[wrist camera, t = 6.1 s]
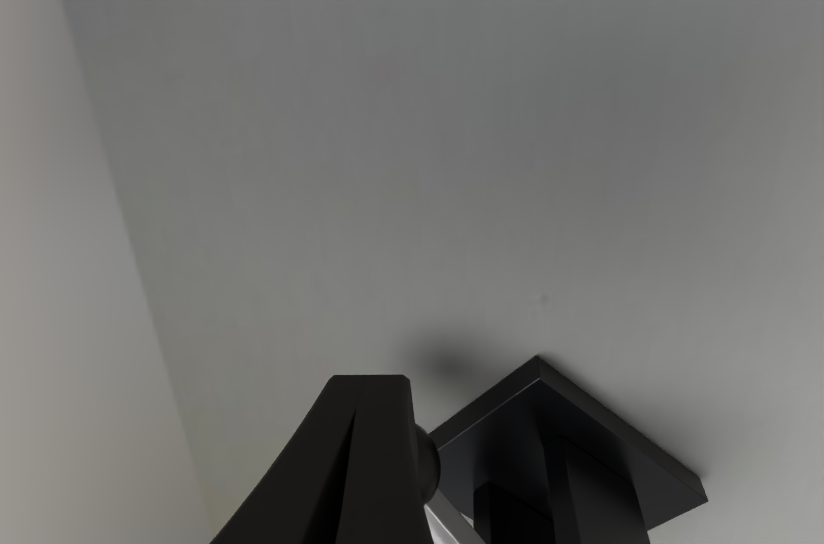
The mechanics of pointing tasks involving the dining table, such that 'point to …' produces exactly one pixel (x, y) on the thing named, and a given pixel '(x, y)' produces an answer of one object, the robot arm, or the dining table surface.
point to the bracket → (557, 467)
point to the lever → (439, 498)
